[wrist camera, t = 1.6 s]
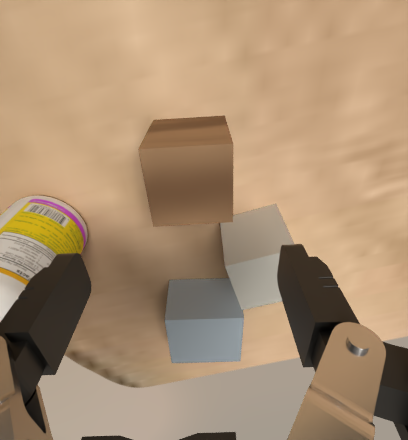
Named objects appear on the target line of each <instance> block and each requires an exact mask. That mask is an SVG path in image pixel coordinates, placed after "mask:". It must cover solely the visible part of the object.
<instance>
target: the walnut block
mask: <svg viewBox="0 0 408 440" xmlns="http://www.w3.org/2000/svg"><path fill="white" fill-rule="evenodd" d="M138 150H139V155H140V160H141V165H142V171H143V176H144V181H145V186H146V191H147V196H148V202H149V207H150V212H151V217H152V222H153V226H172V225H190V224H209V223H227V222H233V142H232V138H231V135H230V132H229V129H228V125H227V122H226V119H225V116H212V117H196V118H179V119H163V120H154V121H153V122H152V124H151V126H150V128H149V130H148V132H147V134H146V136H145V138H144V140H143V141H142V143H141V145H140V147H139V149H138Z"/></svg>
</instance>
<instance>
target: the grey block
mask: <svg viewBox="0 0 408 440" xmlns="http://www.w3.org/2000/svg"><path fill="white" fill-rule="evenodd" d="M220 227H221V236H222V245H223V254H224V263H225V268H226V271H227V273H228V276H229V278H230V281H231V283H232V286H233V289H234V291H235V294H236V296H237V299H238V301H239V304H240V307H241V309H242V310H245V309H250V308H254V307H259V306H263V305H268V304H272V303H277V302H281V301H282V298H281V295H280V292H279V288H278V282H277V271H278V264H279V256H280V249H281V246H282V245H293V244H294V242H293V240H292V237H291V235H290V233H289V231H288V229H287V226H286V224H285V222H284V220H283V218H282V215H281V213H280V211H279V209H278V207H277V204H273V205H269V206H265V207H262V208H258V209H255V210H251V211H247V212H244V213H240V214H237V215H233V222H227V223H220Z"/></svg>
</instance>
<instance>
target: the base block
mask: <svg viewBox="0 0 408 440" xmlns="http://www.w3.org/2000/svg"><path fill="white" fill-rule="evenodd" d="M243 323H244V315H243V310H242V309H241V307H240V304H239V301H238V299H237V296H236V294H235V291H234V289H233V286H232V283H231V281H230V278H218V279H184V280H169V288H168V296H167V305H166V313H165V325H166V331H167V337H168V343H169V349H170V355H171V361H172V363H197V362H232V361H240V359H241V347H242V335H243Z"/></svg>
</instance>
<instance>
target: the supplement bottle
mask: <svg viewBox="0 0 408 440" xmlns="http://www.w3.org/2000/svg"><path fill="white" fill-rule="evenodd" d="M87 236H88V233H87V227H86V224H85V222H84V220H83V219H82V218H81V216H80V215H79V214H78V213H77V212H76V211H75V210H74V209H73V208H72V207H71V206H69V205H68V204H66V203H64V202H62V201H60V200H58V199H55V198H52V197H48V196H28V197H24V198H22V199H19V200H18V201H16V202H15V203H13V204H12V205H11V206H10V207H9V208H7V209H6V210H5V211H4V212H3V213H2V214H1V215H0V322H1V320H2V319H3V318H4V316H5V315H6V313H7V312H8V311H9V309H10V308H11V306H12V305H13V304H14V302H15V301H16V299H18V297H19V295H20V294H21V292H22V291H23V290H25V287H26V285H27V284H28V283H29V281H30V280H31V278H32V277H33V276H34V275H35V274H37V273H38V272H39V271H40V270H42V269H43V268H44V267H49V265H50V264H51V262H52V261H53V259H54V258H55V256H56V255H57V254H65V253H79V254H80V255H81V253H82V251H83V249H84V247H85V245H86V242H87Z"/></svg>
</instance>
